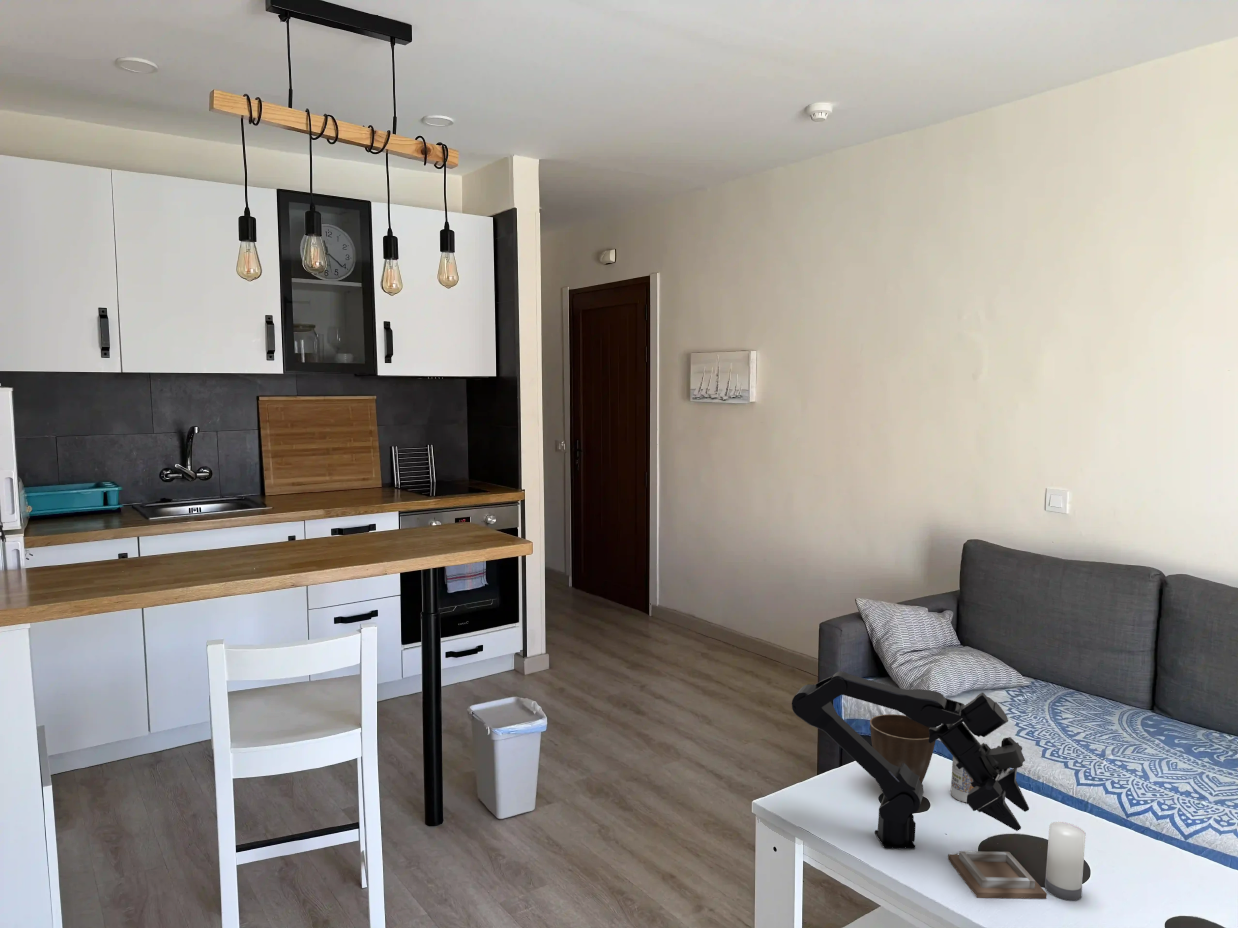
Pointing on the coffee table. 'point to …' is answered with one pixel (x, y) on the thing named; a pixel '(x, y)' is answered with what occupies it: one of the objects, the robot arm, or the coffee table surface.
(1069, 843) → the white cylinder
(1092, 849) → the coffee table surface
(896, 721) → the plant pot
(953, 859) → the walnut board
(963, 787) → the bath foam
